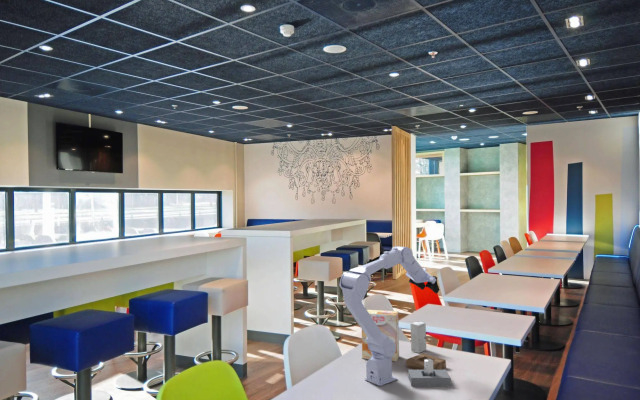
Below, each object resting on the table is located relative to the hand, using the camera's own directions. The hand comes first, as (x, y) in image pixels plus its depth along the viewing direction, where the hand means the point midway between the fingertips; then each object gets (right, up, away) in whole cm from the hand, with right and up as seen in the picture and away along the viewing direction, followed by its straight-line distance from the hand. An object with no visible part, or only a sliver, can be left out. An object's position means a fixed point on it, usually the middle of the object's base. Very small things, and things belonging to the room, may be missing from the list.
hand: (430, 289), depth 190 cm
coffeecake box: (-19, -31, +8) cm, 37 cm away
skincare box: (-1, -30, +16) cm, 34 cm away
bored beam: (-5, -30, -19) cm, 36 cm away
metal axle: (-5, -30, -19) cm, 36 cm away
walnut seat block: (-3, -30, -4) cm, 31 cm away
